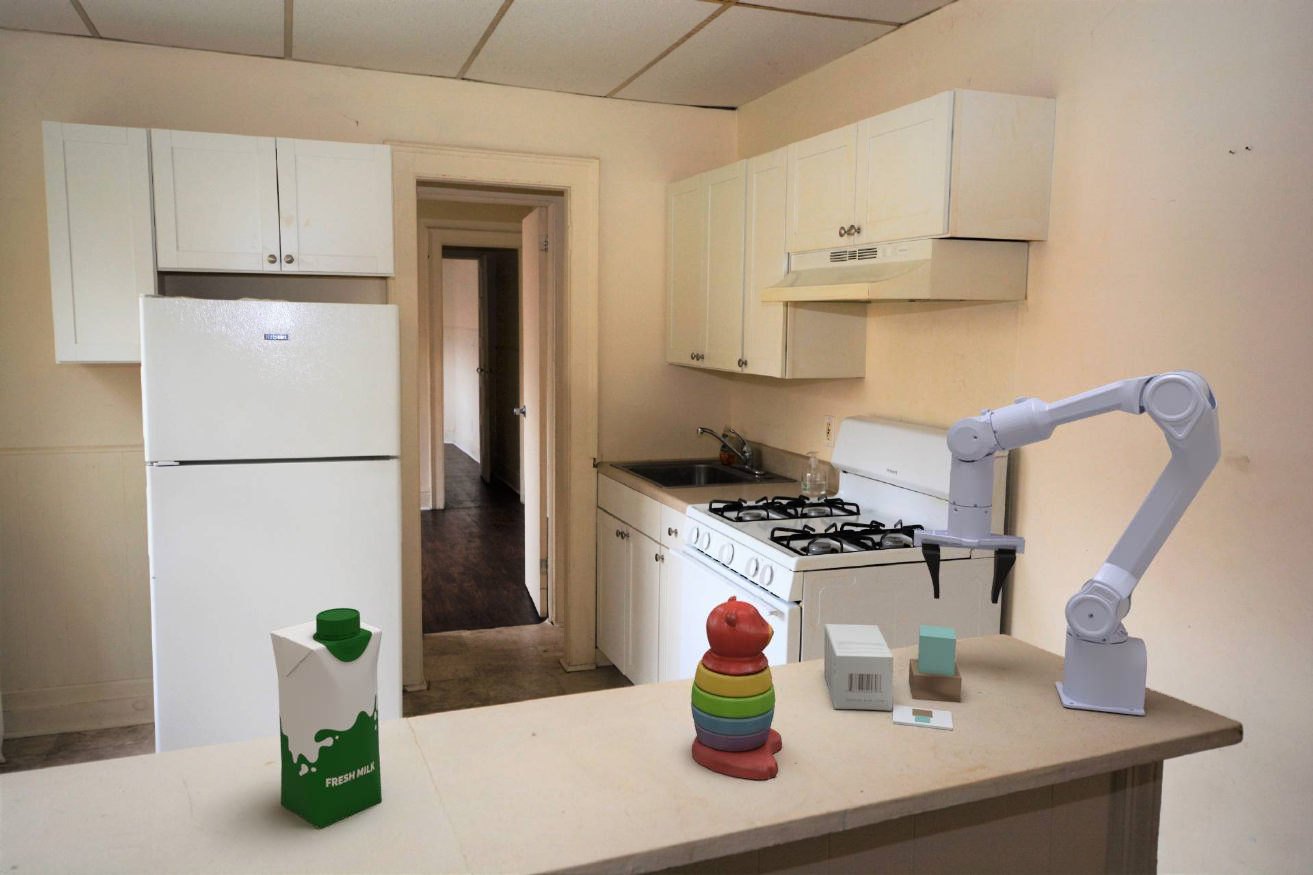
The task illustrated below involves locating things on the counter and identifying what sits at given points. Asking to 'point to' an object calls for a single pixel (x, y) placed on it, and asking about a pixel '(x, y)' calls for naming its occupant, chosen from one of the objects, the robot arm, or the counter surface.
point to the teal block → (936, 650)
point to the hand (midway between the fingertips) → (965, 599)
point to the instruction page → (922, 717)
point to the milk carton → (328, 716)
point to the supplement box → (858, 667)
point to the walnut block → (934, 685)
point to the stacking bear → (735, 695)
